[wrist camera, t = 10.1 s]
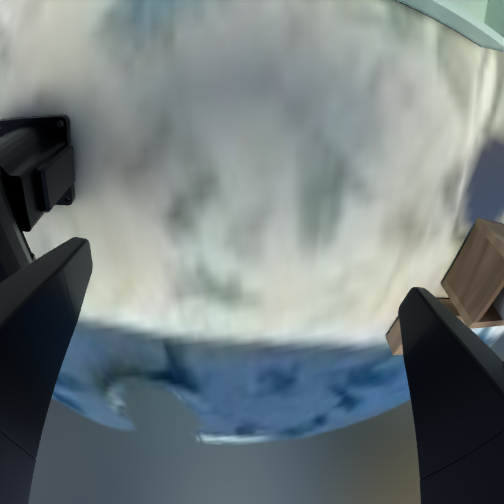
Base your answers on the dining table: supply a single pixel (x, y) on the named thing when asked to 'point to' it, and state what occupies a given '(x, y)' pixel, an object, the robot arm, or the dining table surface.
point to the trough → (468, 18)
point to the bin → (479, 276)
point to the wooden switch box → (395, 333)
